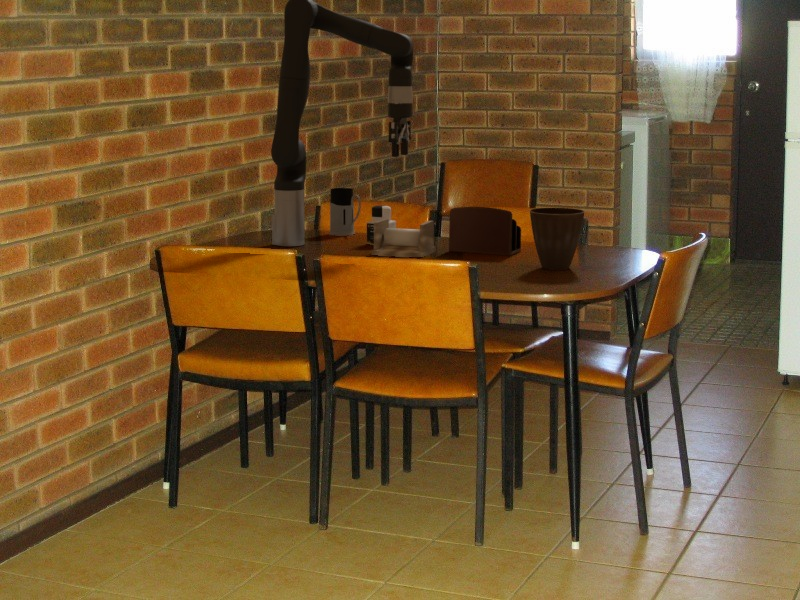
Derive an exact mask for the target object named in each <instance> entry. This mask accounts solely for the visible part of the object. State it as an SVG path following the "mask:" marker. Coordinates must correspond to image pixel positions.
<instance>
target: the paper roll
mask: <svg viewBox="0 0 800 600" xmlns="http://www.w3.org/2000/svg"><path fill="white" fill-rule="evenodd" d="M384 243H385V245H386V246H402V247H420V228H419V229H418V228H416V229H415V228H399V227H398V228H397V227H396V228H386V230H385V233H384Z"/></svg>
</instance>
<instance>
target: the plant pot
mask: <svg viewBox="0 0 800 600" xmlns="http://www.w3.org/2000/svg"><path fill="white" fill-rule="evenodd" d="M585 213H586V212H585V210H584V209H583V210H582V209H579V208H570V207H539V208H533V209H530V210H529V215H530V224H531V225H530V226H531V231H532V236H533V240H534V245H535V250H536V253H537V256H538V261H539V263H540V265H541V268H542V269H544V270H548V271H565V270H569V268H570V266H571V265H572V261H573V259H574V257H575V254H576V250H577V247H578V244H579V241H580V236H581V234H582V233H581V232H582V228H583V223H584V218H585Z"/></svg>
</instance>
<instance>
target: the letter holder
mask: <svg viewBox="0 0 800 600" xmlns="http://www.w3.org/2000/svg"><path fill="white" fill-rule="evenodd" d="M448 226H449V227H448V230H449V232H448V233H449V234H448V235H449V237H448V251H449V252H450V253H451V252H452V253H464V254H465V253H467V254H480V255H481V254H483V255H496V256H498V255H499V256H513V255H516V254H518V253H519V252H521V251H522V228H521V227H520V225H518V223H517V220H515V219H514V218H513V212H511V211H509V210H505V209H503V208H502V209H501V208H494V207H487V206H486V207H485V206H461V207H452V208H451V209H450V211H449V225H448Z"/></svg>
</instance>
